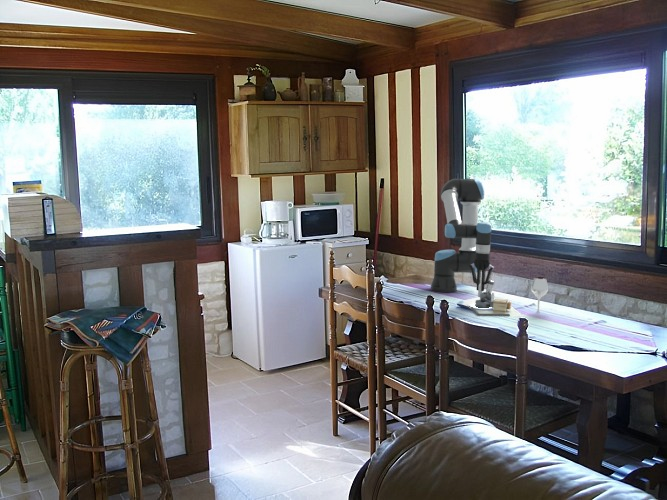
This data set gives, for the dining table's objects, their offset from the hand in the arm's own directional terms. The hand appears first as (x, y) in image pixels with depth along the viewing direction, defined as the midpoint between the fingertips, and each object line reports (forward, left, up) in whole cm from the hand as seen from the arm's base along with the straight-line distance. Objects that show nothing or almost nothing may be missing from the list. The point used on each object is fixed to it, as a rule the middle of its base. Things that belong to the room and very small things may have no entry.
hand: (480, 296), depth 365 cm
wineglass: (+15, +26, -5) cm, 31 cm away
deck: (+11, +5, -5) cm, 13 cm away
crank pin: (+2, +3, -1) cm, 4 cm away
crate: (+16, +7, -4) cm, 18 cm away
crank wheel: (+7, +6, -4) cm, 10 cm away
